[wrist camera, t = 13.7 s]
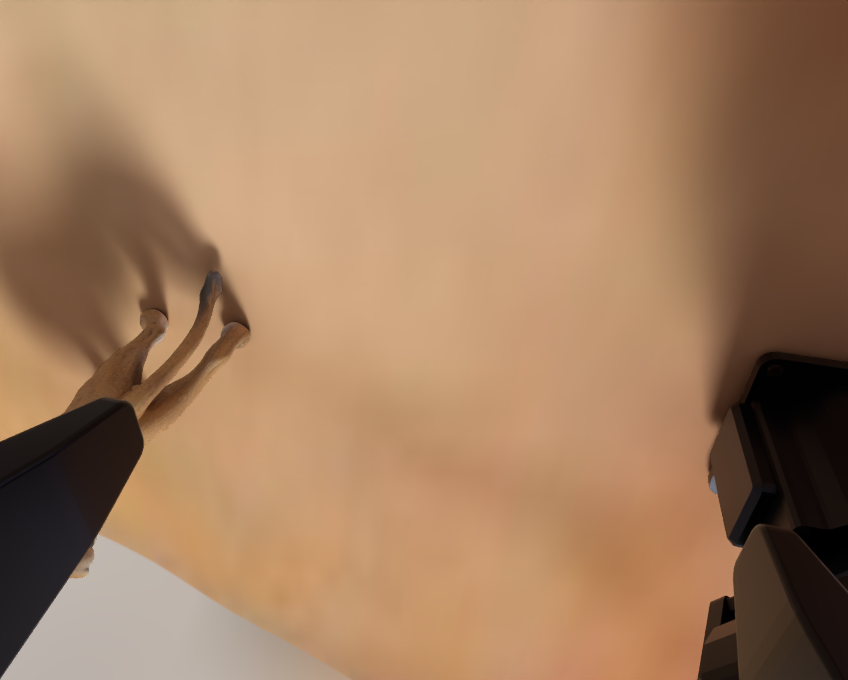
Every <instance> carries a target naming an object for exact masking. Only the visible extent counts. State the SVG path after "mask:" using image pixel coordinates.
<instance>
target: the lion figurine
mask: <svg viewBox="0 0 848 680" xmlns="http://www.w3.org/2000/svg"><path fill="white" fill-rule="evenodd" d="M221 282H222V278H221V276H220V274H219V273H218V272H217V271H214V270H212V271H210V272H209V273H208V275H207V277H206V280H205V284H204V286H203V288H202V290H201V292H200V304H199V311H198V314H197V318H196V320H195V322H194V325H193V327H192V328H191V330H190V331H189V333H188V335H187V336H186V338H185V339H184V340H183V342H182V343H181V344H180V345H179V347H178V348H177V349H176V351H175V352H174V353H173V354H172V355H171V356H170V358H169V359H168V360H167V361H166V362H165V363H164V364H163V365H162V366H161V367H160V368H159V369H158V370H157V371H155V372H154V373H153V374H152V375H151V376H150V377H149V378H148V379H146V380H145V381H144V382H143V383H142V384H141V379H142V372H143V366H144V363H145V361H146V358H147V355H148V352H149V350H150V349H151V348H152V347H153V346H154V345H155V344H157V343H159V342H160V341H162V340H163V338H164V336H165V332H166V330H167V329H168V327H169V324H168V321H167V319H166V317H165V316H164V315H163V314H162V313H161V312H160V311H158V310H154V309H150V310H146V311H144V312H143V313H142V314H141V316H140V325H141V327H142V329H143V331H142V332H141V333H140V334H139V335H138V336H137V337H136V338H135V339H134V340H132V341H131V342H130V343H129V344H127V345H126V346H124V347H123V348H122V349H120V350H119V351H117V352H116V353H115V354H113V355H112V356H111V357H110V358H109V359H108V360H106V361H105V362H104V363H103V365H102V366H101V367H100V368H99V370H98V371H97V372H96V374H95V375H94V376H93V377H91V378H90V379H89V380H88V381H86V383H85V384H84V385H83V386H82V387H81V388H80V389H79V390H78V392H77V394H76V395H75V397H74V399H73V401H72V402H71V404H70V405H69V407H68V408H67V409H66V411H65V412H64V413H63V414H65V413H67V412H69V411H71V410H74V409H76V408H78V407H81V406H83V405H85V404H87V403H90V402H92V401H94V400H97V399H99V398H102V397H111V398H116V399H121V400H126V401H128V402H130V403H131V404H132V405H133V407H134V409H135V412H136V416H137V419H138V422H139V425H140V428H141V431H142V435H143V438H144V445H145V444H147V443H148V442H149V441H150V440H151V439H152V438H153V437H154V436H156V435H157V434H158V433H159V432H160V431H161V430H166V429H167V428H168V427H169V426H170V425H171V424H172V423H174V422H175V421H176V420H177V419H178V418H179V417H180V416H181V414H182V413H183V412H184V411H185V410H186V408H187V407H188V406H189V405H190V404H191V403H192V402H193V400H194V399H195V398H196V397H197V396H198V394H199V393H200V392H201V390H202V389H203V388H204V386H205V385H206V384H207V382H208V381H209V380H210V378H211V377H212V376H213V375H214V374H215V373H216V372H217V371H218V369H219V368H221V367H222V366H223V365H224V364H226V363H227V361H228V360H229V359H230V357H231V355H232V353H233V351H234V350H235V349H236V348H242V347H244V346H245V345H246V344H247V343H248V341H249V339H250V332H249V331H248V329H246V328H245V327H244V326H243V325H241V324H239V323H237V322H231V323H229V324H227V325H226V326H225V327H224V328H223V330H222V332H221V337H220V339H219V340H218V341H217V342H216V343H215V344H213V345H212V346H211V348H210V349H209V350H208V351H207V352H206V354H205V356H204V357H203V359H202V360H201V362H200V363H199V364H198V365H197V366H196V367H195V369H194V370H192V371H191V372H190V373H189V374H187V375H186V376H184V377H183V378H181V379H179V380H177V381H175V382H173V383H171V384H169V385H167V384H168V383H169V382H170V381H171V380H172V378H173V377H174V376H175V375H176V374H177V373H178V371H179V370H180V369H181V368H182V366H183V365H184V364H185V363H186V361H187V360H188V359H189V358H190V356H191V355H192V354H193V352H194V351H195V350H196V348H197V347H198V345H199V344H200V342H201V340H202V338H203V336H204V334H205V331H206V329H207V327H208V325H209V322H210V319H211V316H212V311H213V308H214V305H215V302H216V299H217V298H218V296H219V294H220V293H221V292H222V286H221ZM166 385H167V386H166ZM61 415H62V414H61ZM95 541H96V538H95V540H94V541H93V543H92V545H91V546H90V548H89V549H88V551H87V552H86V554H85V555H84V557H83V558H82V560H81V561H80V563H79V564H78V566H77V567H76V569H75V570H74V572H73V573H72V574H71V576H70V577H69V578H83V577H85V576H87V574H88V572H89V567H90V565H91V563H92V561H93V559H94V550H93V548H92V547H93V545H94V543H95Z"/></svg>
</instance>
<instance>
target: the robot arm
mask: <svg viewBox="0 0 848 680" xmlns="http://www.w3.org/2000/svg"><path fill="white" fill-rule="evenodd" d="M772 365H780V367H779V368H778V369H776V370H767V369H768V368H769V367H770V366H772ZM143 448H144V438H143V435H142V431H141V428H140V425H139V422H138V419H137V416H136V412H135V409H134V407H133V405H132V404H131V403H130V402H128V401H126V400H121V399H116V398H111V397H102V398H99V399H97V400H94V401H92V402H90V403H87V404H85V405H83V406H81V407H78V408H76V409H74V410H71V411H69V412H67V413H65V414H62V415H60V416H58V417H55V418H53V419H51V420H49V421H46V422H44V423H42V424H39V425H37V426H35V427H33V428H30V429H28V430H26V431H23V432H21V433H19V434H17V435H14V436H12V437H10V438H7V439H5V440H3V441H1V442H0V679H1V677H2V676H3V674H4V673H5V671H6V670H7V668H8V667H9V665H10V664H11V663H12V661H13V659H14V658H15V657H16V655H17V654H18V652H19V651H20V649H21V648H22V646H23V645H24V643H25V642H26V641H27V639H28V637H29V636H30V635H31V633H32V632H33V630H34V629H35V627H36V626H37V624H38V623H39V621H40V620H41V619H42V617H43V616H44V614H45V613H46V611H47V610H48V608H49V607H50V605H51V604H52V602H53V601H54V599H55V598H56V596H57V595H58V593H59V592H60V591H61V589H62V588H63V586H64V585H65V583H66V582H67V580H68V579H69V577H70V576H71V574H72V573H73V572H74V570H75V569H76V567H77V566H78V564H79V563H80V561H81V560H82V558H83V557H84V555H85V554H86V552H87V551H88V549H89V548H90V546H91V545H92V543H93V541H94V540H95V538H96V536H97V535H98V533H99V531H100V530H101V528H102V526H103V524H104V522H105V521H106V519H107V517H108V515H109V513H110V511H111V510H112V508H113V506H114V504H115V502H116V501H117V499H118V497H119V495H120V493H121V491H122V490H123V488H124V486H125V484H126V482H127V480H128V479H129V477H130V475H131V473H132V471H133V469H134V468H135V466H136V464H137V462H138V460H139V458H140V457H141V454H142V451H143ZM710 460H711V465H712V468H711V471H710V473H709V475H708V483H709V487H710V489H711V491H712V492H714V493H715V494H718V498H719V502H720V507H721V512H722V516H723V521H724V526H725V530H726V535H727V538H728V540H729V541H730V542H731V544H732V545H733V546H737V547H741V548H743V549H742V551H741V553H740V554H739V556H738V558H737V560H736V563H735V566H734V572H733V586H734V596H733V597H728V596H724V597H721V598H719V599H717V600H714V601H712V602H711V603H710V607H709V613H708V619H707V625H706V631H705V637H704V643H703V649H702V655H701V662H700V668H699V674H698V680H848V362H841V361H834V360H827V359H821V358H814V357H807V356H800V355H794V354H787V353H780V352H770V353H766V354H764V355H762V356H761V357H760V358H759V359H758V360H757V362H756V364H755V366H754V369H753V371H752V374H751V376H750V378H749V381H748V383H747V385H746V388H745V390H744V392H743V395H742V397H741V400H740V402H737V403H735V404H734V405H732V406H731V407H730V408H729V410H728V412H727V415H726V417H725V420H724V422H723V424H722V427H721V429H720V432H719V434H718V437H717V439H716V441H715V444H714V446H713V449H712V451H711V454H710Z"/></svg>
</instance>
